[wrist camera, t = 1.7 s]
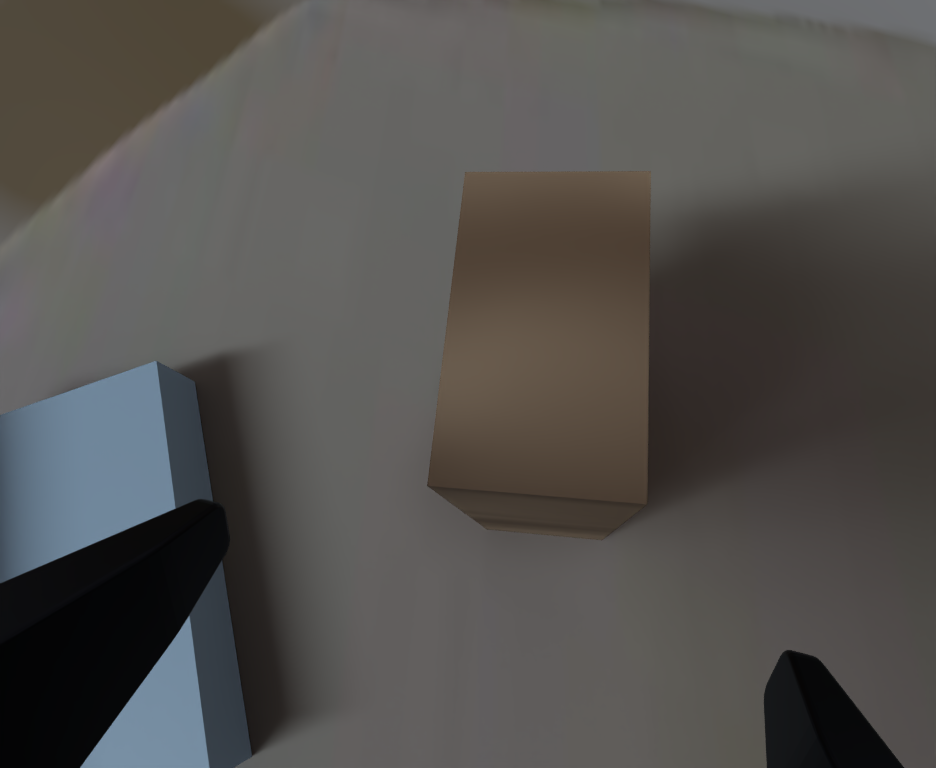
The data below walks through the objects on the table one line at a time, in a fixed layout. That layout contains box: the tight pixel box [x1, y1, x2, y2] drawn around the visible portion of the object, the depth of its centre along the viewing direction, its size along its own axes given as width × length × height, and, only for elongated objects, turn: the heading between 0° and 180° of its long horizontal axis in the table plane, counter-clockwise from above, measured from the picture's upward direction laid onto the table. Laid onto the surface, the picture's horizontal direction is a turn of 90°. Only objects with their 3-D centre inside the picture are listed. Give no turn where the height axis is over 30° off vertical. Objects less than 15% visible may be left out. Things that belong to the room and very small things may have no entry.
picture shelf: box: [0, 361, 252, 768], centre depth 20 cm, size 14×9×5 cm, turn 17°
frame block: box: [427, 171, 651, 540], centre depth 17 cm, size 7×4×10 cm, turn 174°
